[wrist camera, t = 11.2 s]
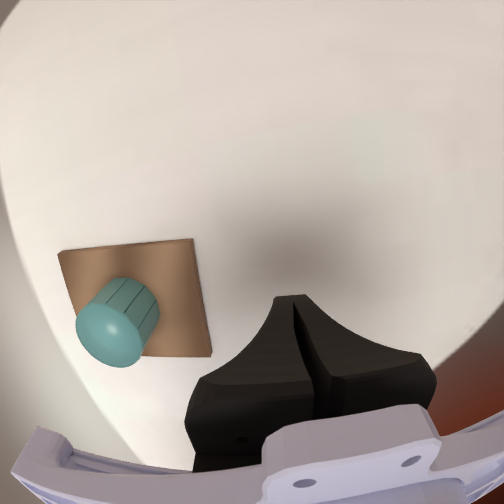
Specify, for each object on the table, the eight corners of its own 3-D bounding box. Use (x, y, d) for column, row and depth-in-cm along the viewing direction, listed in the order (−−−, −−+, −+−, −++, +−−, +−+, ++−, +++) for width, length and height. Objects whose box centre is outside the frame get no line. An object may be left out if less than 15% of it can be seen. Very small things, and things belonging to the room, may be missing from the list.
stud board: (192, 238, 21) (180, 256, 18) (211, 351, 24) (206, 379, 21) (62, 250, 22) (38, 266, 18) (94, 347, 25) (78, 370, 21)
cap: (151, 276, 21) (129, 305, 17) (165, 334, 23) (149, 369, 19) (94, 278, 21) (66, 305, 17) (111, 333, 23) (90, 364, 19)
